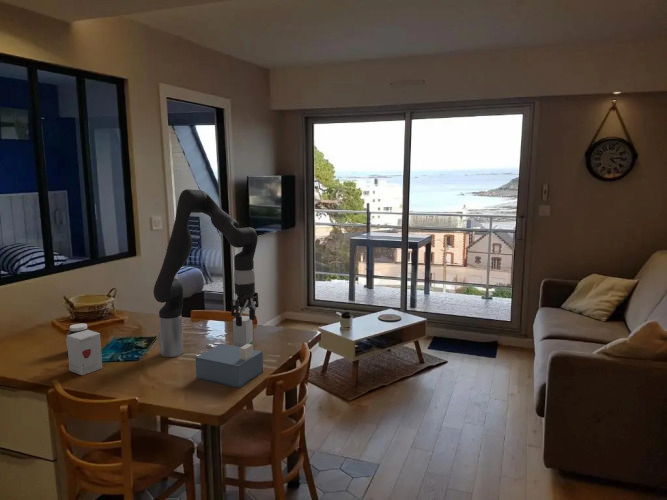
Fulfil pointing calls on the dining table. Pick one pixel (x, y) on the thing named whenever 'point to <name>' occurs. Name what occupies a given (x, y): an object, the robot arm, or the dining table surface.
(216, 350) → the carton flap
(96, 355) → the supplement box
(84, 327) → the spread jar
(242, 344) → the skincare box
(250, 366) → the carton
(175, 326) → the robot arm
